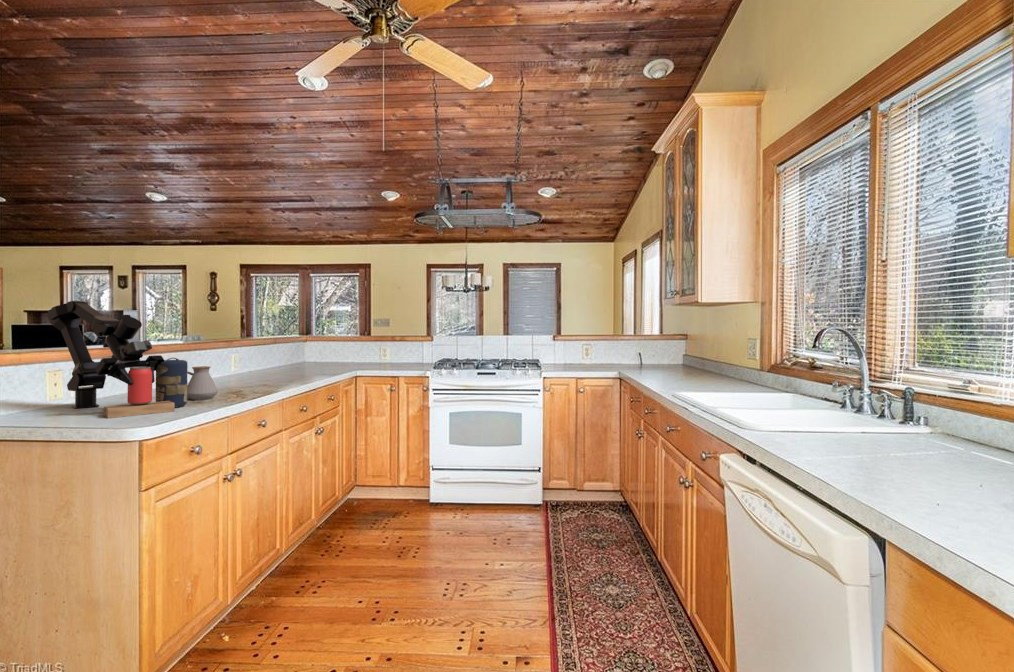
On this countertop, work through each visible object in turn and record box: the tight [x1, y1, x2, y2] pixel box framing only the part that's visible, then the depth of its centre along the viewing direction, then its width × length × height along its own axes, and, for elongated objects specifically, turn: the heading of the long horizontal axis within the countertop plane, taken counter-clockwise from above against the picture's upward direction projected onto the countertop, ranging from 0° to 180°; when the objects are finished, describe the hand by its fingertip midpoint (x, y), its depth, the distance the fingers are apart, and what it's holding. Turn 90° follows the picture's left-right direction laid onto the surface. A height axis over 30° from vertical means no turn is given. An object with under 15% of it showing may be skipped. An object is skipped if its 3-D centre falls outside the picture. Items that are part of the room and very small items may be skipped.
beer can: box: [127, 367, 153, 404], centre depth 162 cm, size 7×7×12 cm
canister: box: [155, 357, 188, 408], centre depth 175 cm, size 10×10×18 cm
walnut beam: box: [103, 401, 176, 419], centre depth 162 cm, size 6×18×3 cm, turn 139°
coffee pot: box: [187, 366, 218, 401], centre depth 194 cm, size 21×12×15 cm, turn 98°
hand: (142, 383), depth 161 cm, fingers closed on beer can, 6 cm apart
